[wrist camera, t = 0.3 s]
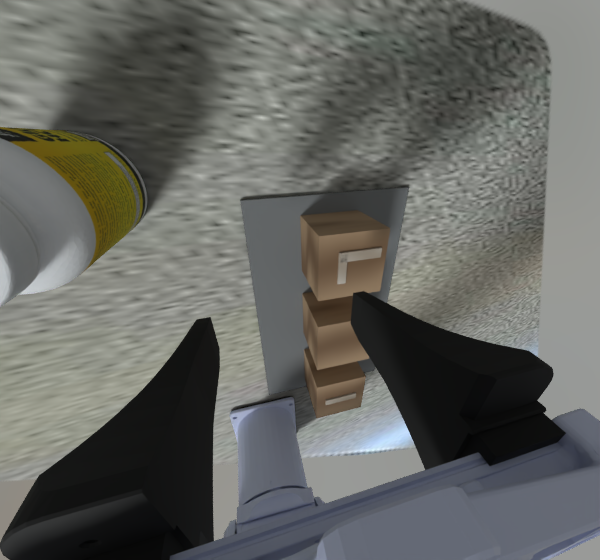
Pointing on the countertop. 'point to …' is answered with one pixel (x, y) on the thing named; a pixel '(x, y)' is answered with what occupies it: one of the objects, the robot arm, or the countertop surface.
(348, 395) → the digit block 1
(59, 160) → the pill bottle
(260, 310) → the mat
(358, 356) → the plain block
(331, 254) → the digit block 7
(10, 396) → the countertop surface
